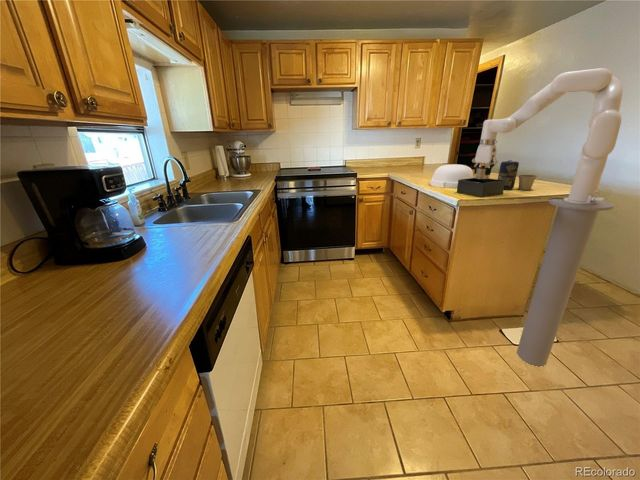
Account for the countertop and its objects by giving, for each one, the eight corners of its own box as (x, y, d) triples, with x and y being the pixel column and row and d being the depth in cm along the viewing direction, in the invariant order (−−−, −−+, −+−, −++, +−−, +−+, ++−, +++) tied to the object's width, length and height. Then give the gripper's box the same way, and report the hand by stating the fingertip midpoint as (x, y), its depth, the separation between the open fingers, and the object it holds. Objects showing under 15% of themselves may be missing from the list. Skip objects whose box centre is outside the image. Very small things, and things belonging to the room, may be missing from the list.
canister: (497, 189, 170) (503, 160, 163) (494, 187, 178) (499, 159, 171) (515, 190, 166) (521, 160, 160) (511, 187, 174) (517, 159, 168)
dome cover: (440, 180, 215) (442, 162, 210) (480, 182, 195) (484, 163, 190) (422, 185, 195) (423, 166, 190) (465, 189, 174) (468, 167, 169)
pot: (490, 178, 158) (492, 165, 155) (482, 179, 156) (484, 166, 153) (480, 177, 164) (482, 164, 161) (472, 178, 162) (474, 165, 159)
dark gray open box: (502, 193, 158) (505, 180, 155) (481, 197, 152) (483, 183, 150) (476, 189, 174) (478, 177, 171) (456, 192, 168) (458, 179, 165)
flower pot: (531, 191, 161) (535, 177, 158) (513, 189, 168) (516, 176, 165) (535, 189, 167) (539, 175, 164) (517, 187, 173) (520, 174, 170)
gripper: (506, 142, 146) (500, 175, 153) (478, 142, 161) (473, 172, 168) (497, 143, 144) (491, 176, 150) (469, 143, 159) (465, 173, 165)
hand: (482, 174), depth 159 cm, fingers closed on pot, 6 cm apart
